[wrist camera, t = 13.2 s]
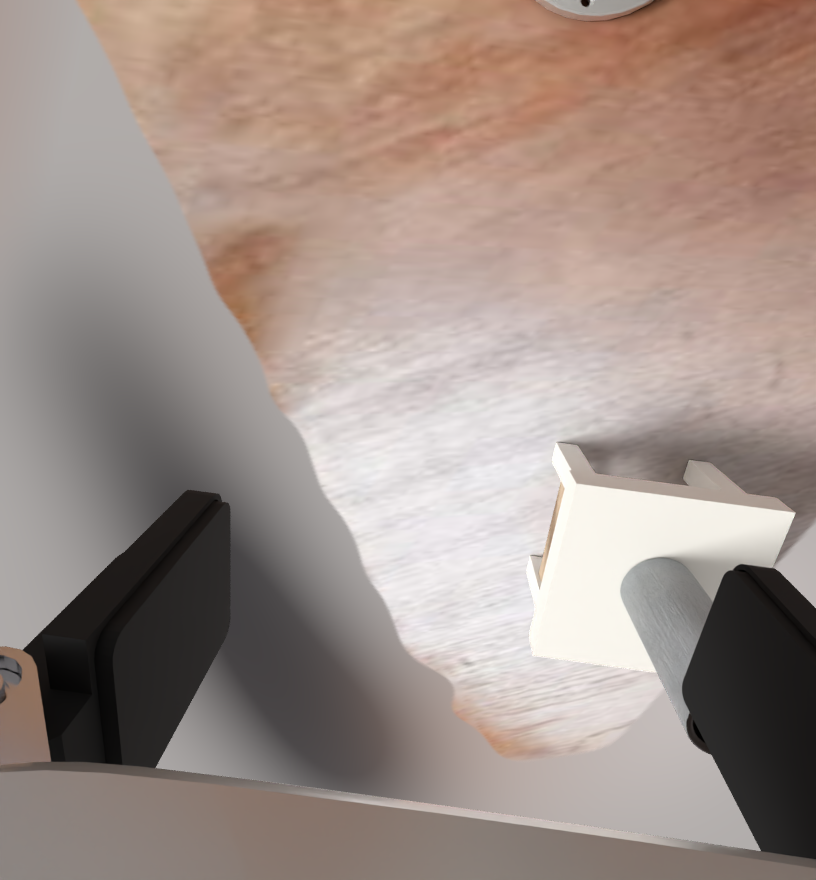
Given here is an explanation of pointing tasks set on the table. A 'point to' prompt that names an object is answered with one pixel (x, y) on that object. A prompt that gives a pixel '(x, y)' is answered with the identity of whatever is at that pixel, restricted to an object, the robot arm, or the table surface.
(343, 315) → the table surface
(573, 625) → the stool
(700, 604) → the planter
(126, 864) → the robot arm
